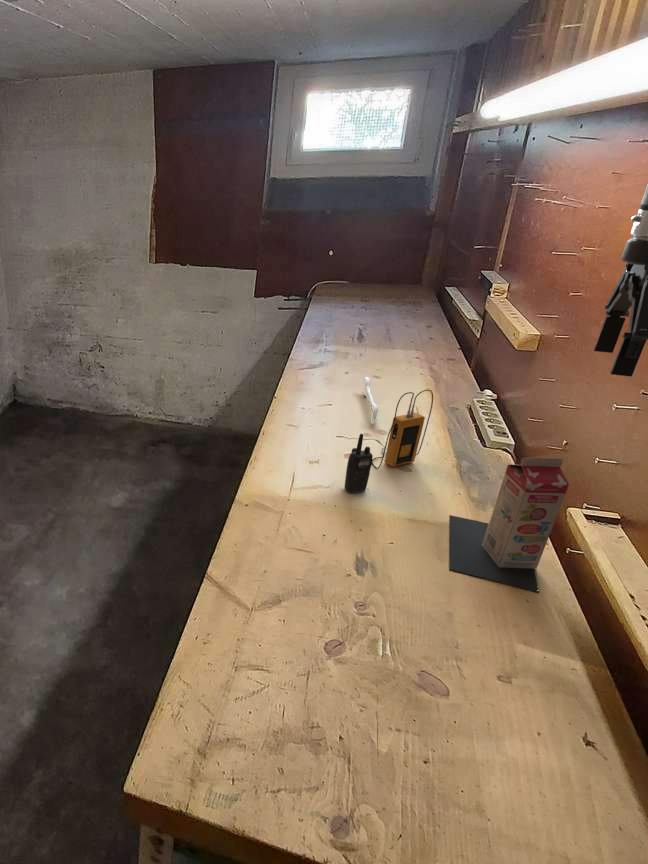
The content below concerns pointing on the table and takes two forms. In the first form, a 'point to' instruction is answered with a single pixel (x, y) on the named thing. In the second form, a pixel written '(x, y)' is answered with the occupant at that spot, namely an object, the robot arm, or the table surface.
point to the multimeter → (404, 436)
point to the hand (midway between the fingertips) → (611, 362)
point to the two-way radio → (358, 468)
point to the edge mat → (482, 556)
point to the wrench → (370, 399)
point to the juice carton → (525, 512)
